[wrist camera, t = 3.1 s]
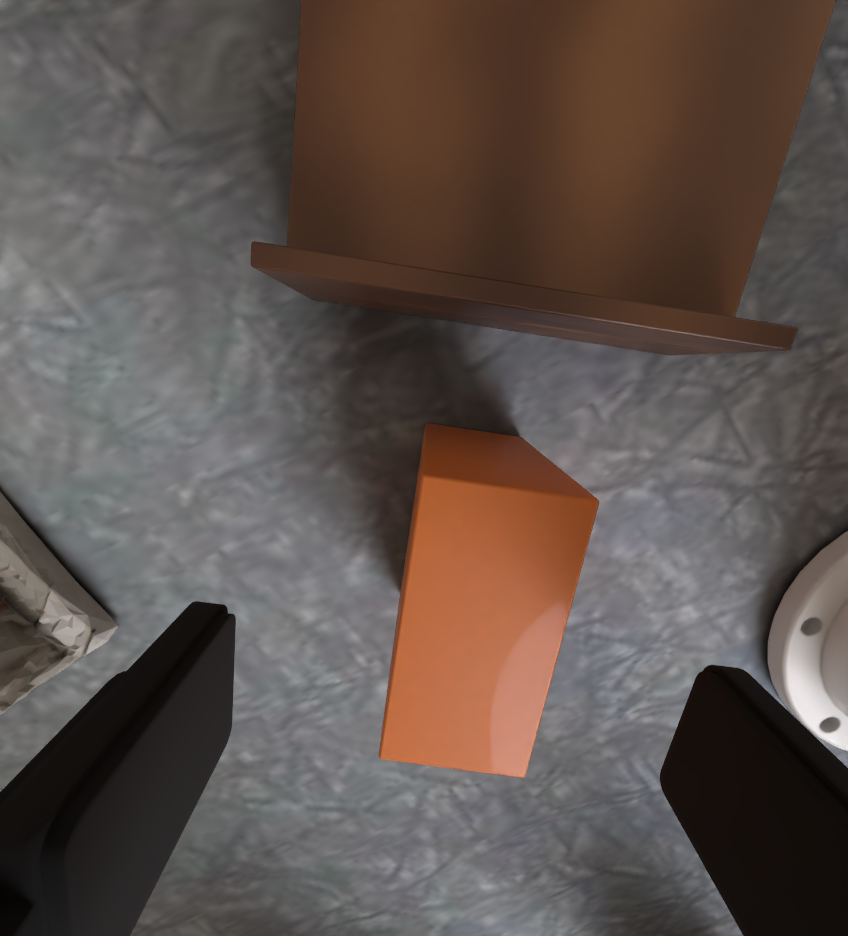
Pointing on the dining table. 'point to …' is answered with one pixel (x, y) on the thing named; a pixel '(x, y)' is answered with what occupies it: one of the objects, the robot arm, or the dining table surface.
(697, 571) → the dining table surface
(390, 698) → the block
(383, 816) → the dining table surface
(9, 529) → the packaged product
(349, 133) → the shelf
